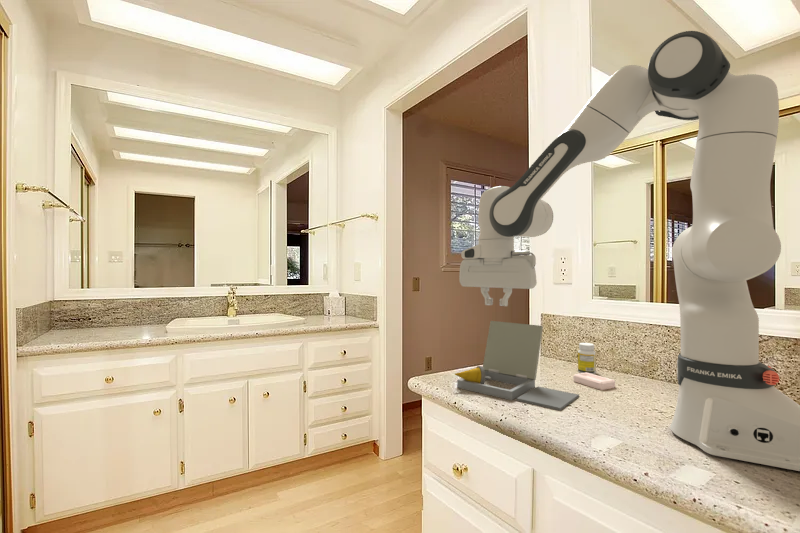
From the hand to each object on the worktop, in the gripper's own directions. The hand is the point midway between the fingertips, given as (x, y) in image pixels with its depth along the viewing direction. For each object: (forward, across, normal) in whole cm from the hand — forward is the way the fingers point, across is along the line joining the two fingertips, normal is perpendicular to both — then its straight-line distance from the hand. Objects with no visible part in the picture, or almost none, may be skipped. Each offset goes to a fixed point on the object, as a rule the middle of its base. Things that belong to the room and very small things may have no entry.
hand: (496, 305), depth 104 cm
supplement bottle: (+21, -13, -30) cm, 39 cm away
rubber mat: (+21, -13, 0) cm, 25 cm away
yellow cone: (+19, +1, 0) cm, 19 cm away
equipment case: (+21, 0, 0) cm, 21 cm away
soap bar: (+22, -18, -19) cm, 34 cm away
